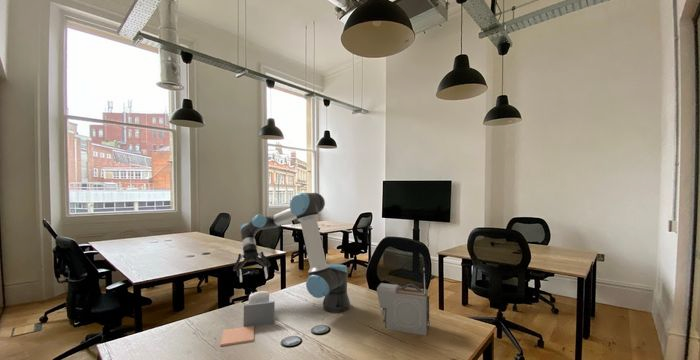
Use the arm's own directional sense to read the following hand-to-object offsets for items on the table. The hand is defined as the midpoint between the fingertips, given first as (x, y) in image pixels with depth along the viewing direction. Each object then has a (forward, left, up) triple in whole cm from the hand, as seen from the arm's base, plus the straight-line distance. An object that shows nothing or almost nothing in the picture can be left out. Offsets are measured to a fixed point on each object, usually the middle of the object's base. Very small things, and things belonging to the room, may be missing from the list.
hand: (254, 279), depth 156 cm
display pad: (-17, +24, -16) cm, 34 cm away
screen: (-17, +12, -16) cm, 26 cm away
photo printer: (-9, +5, -16) cm, 19 cm away
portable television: (-78, -21, -16) cm, 82 cm away
